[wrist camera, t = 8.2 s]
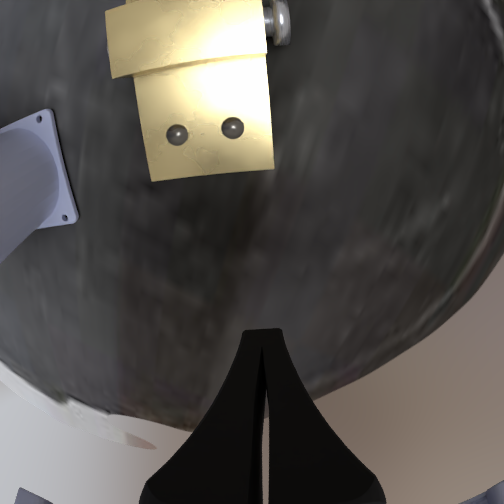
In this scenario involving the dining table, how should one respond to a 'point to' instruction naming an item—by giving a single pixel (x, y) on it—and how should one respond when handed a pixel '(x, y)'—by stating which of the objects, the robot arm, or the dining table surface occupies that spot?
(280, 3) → the hinge pin
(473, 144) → the dining table surface
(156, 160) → the hinge leaves
